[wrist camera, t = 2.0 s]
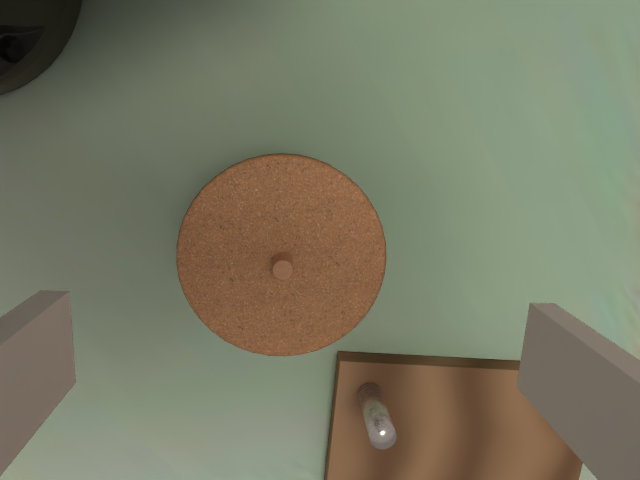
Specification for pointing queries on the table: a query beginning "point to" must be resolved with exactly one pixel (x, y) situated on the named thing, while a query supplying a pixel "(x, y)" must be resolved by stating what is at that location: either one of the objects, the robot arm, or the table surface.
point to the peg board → (442, 422)
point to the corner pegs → (376, 416)
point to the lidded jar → (281, 254)
